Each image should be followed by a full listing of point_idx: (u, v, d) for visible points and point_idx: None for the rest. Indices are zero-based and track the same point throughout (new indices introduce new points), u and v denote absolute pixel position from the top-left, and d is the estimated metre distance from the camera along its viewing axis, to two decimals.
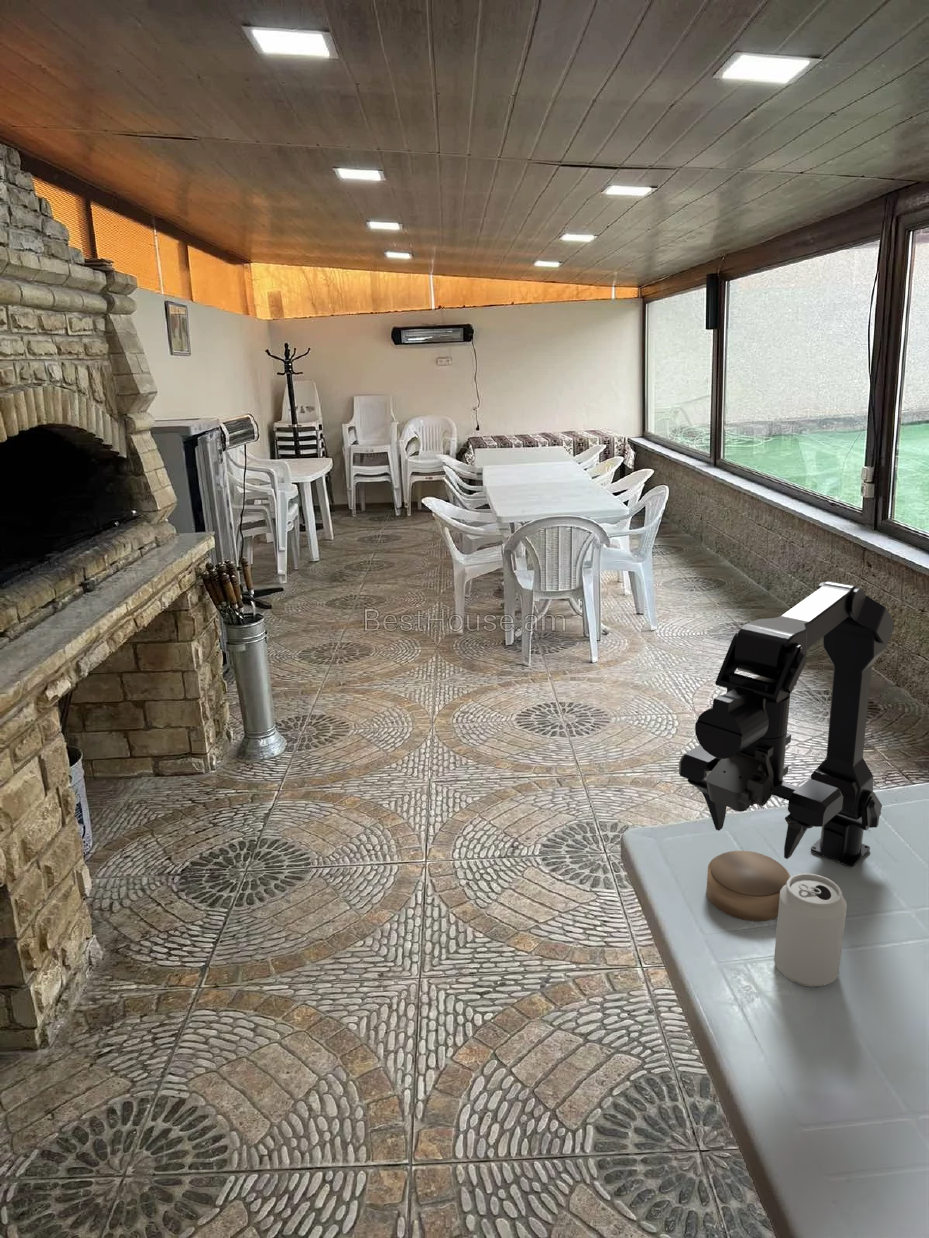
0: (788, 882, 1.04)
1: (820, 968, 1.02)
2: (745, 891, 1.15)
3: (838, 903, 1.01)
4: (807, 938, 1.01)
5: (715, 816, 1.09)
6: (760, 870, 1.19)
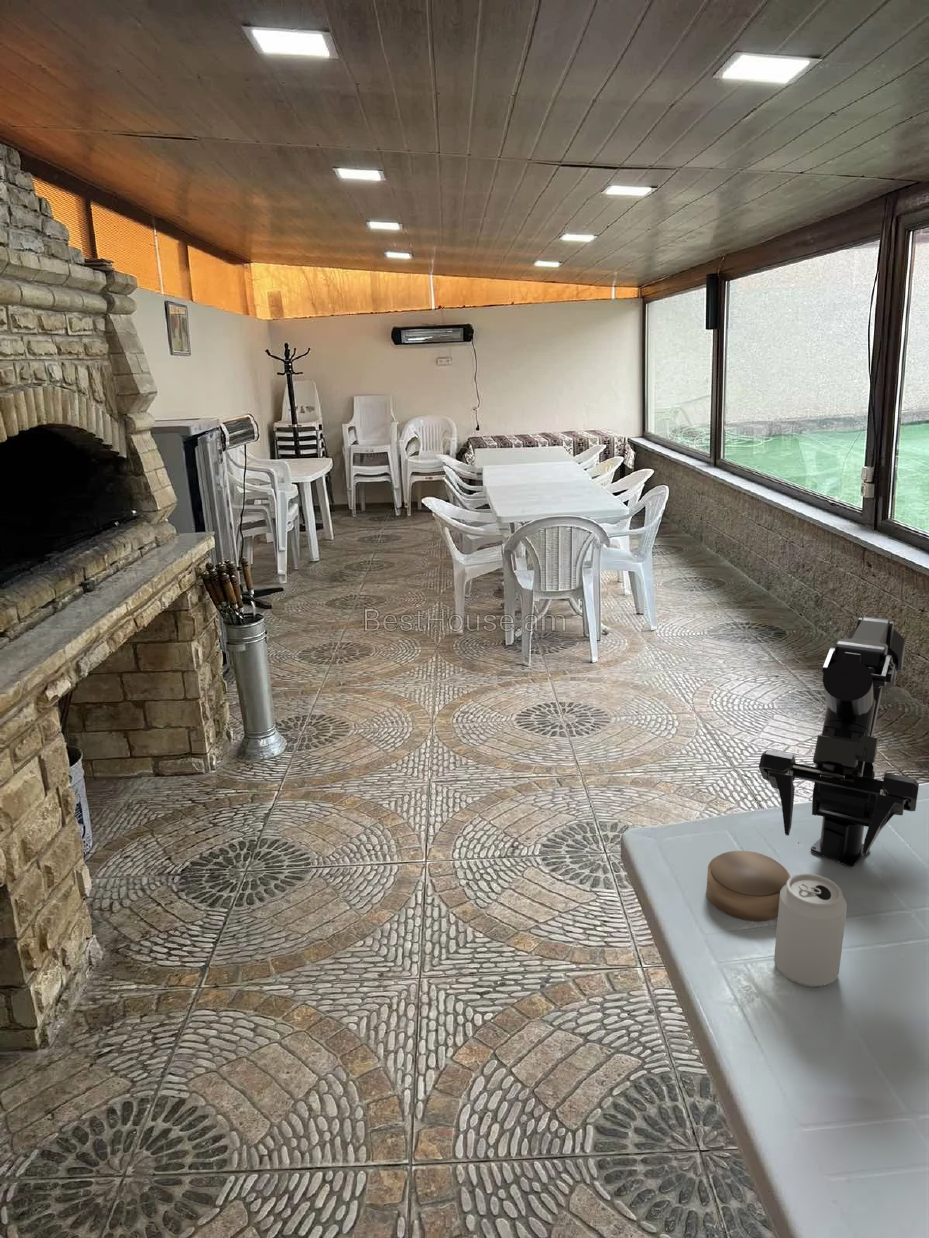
0: (788, 882, 1.04)
1: (821, 969, 1.02)
2: (745, 891, 1.15)
3: (838, 903, 1.01)
4: (807, 938, 1.01)
5: (788, 815, 1.11)
6: (760, 870, 1.19)
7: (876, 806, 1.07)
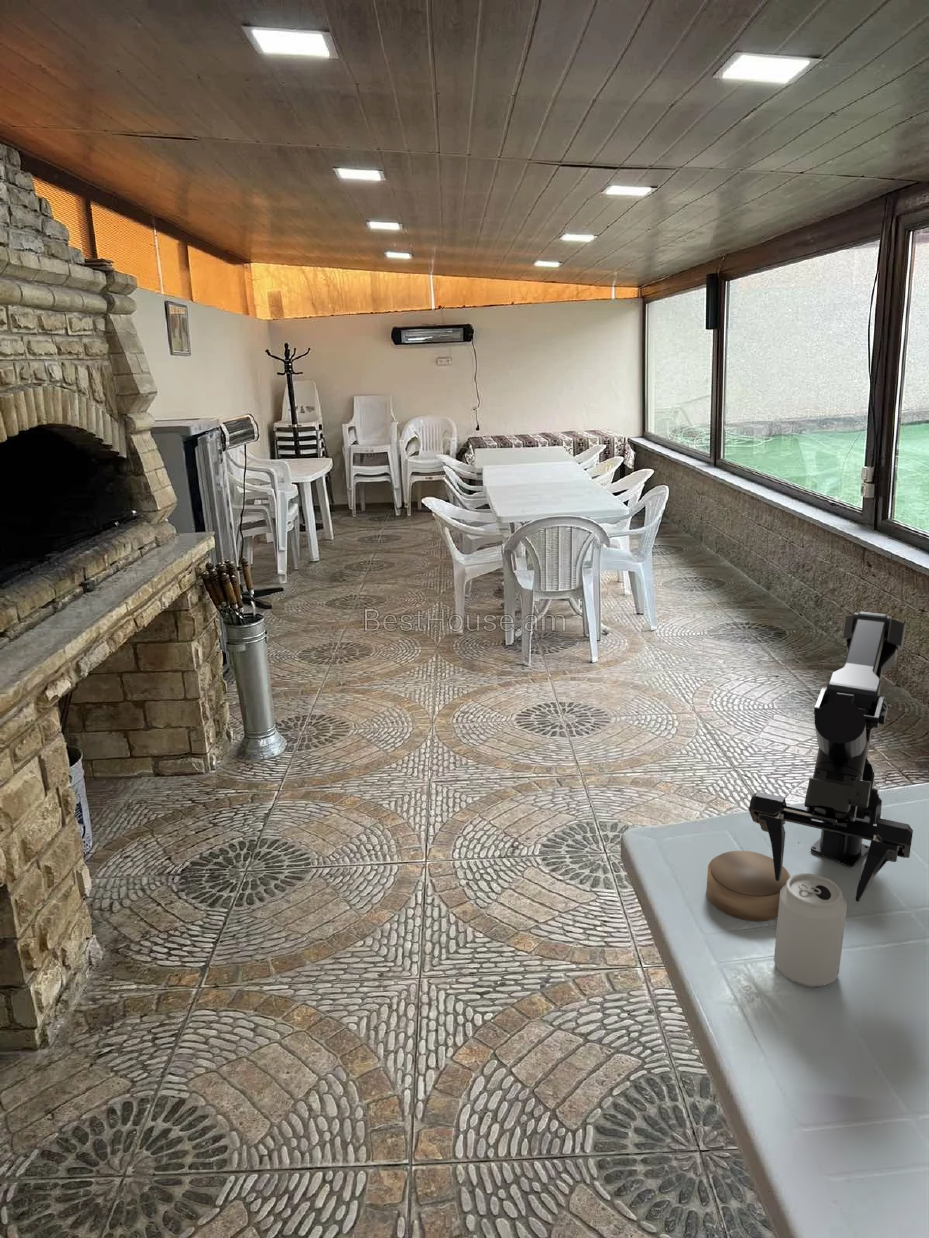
0: (788, 882, 1.04)
1: (820, 969, 1.02)
2: (745, 891, 1.15)
3: (838, 903, 1.01)
4: (807, 938, 1.01)
5: (779, 860, 1.08)
6: (760, 870, 1.19)
7: (869, 852, 1.03)
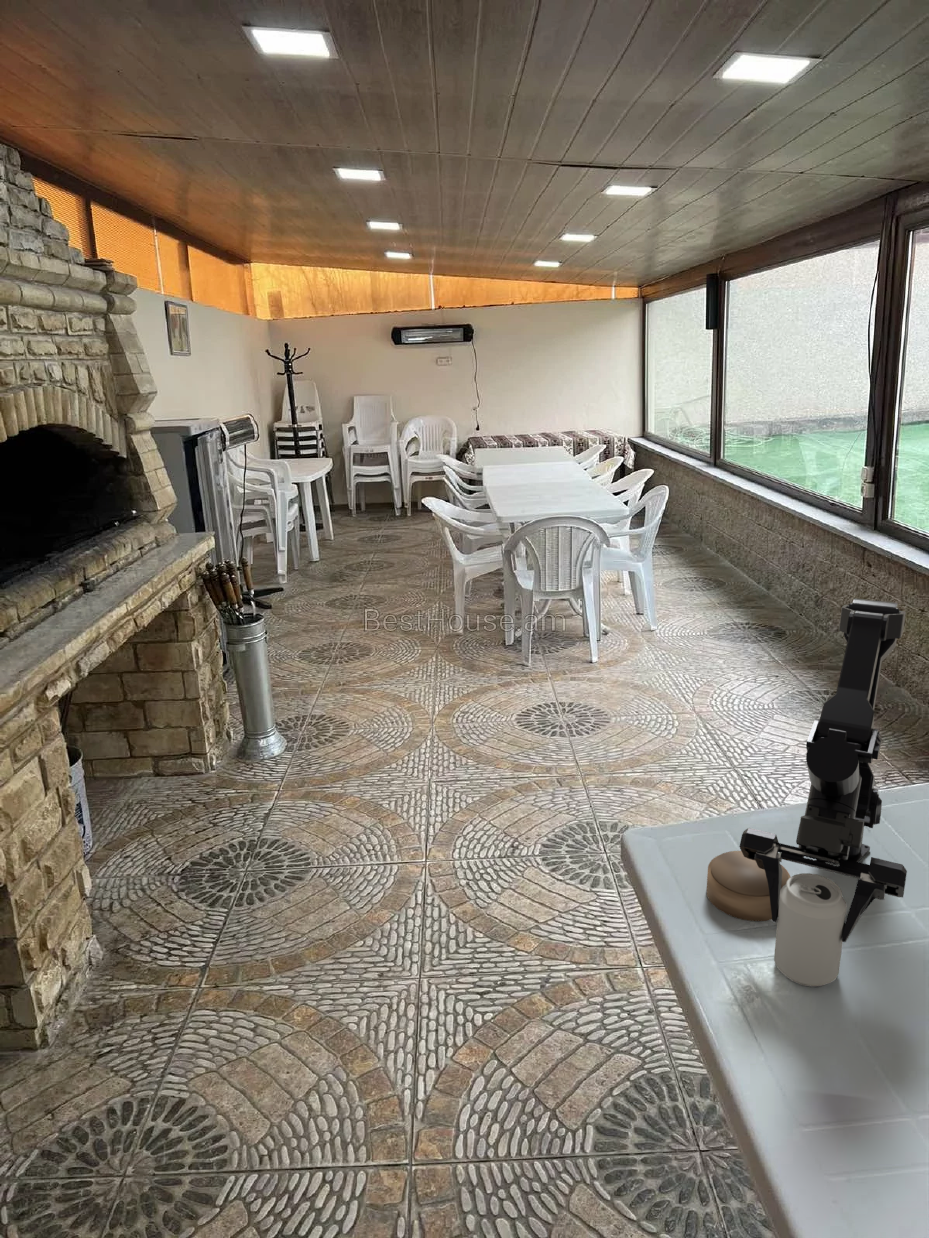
0: (788, 882, 1.04)
1: (820, 968, 1.02)
2: (745, 891, 1.15)
3: (838, 903, 1.01)
4: (807, 938, 1.01)
5: (776, 901, 1.05)
6: (760, 870, 1.19)
7: (856, 891, 1.01)
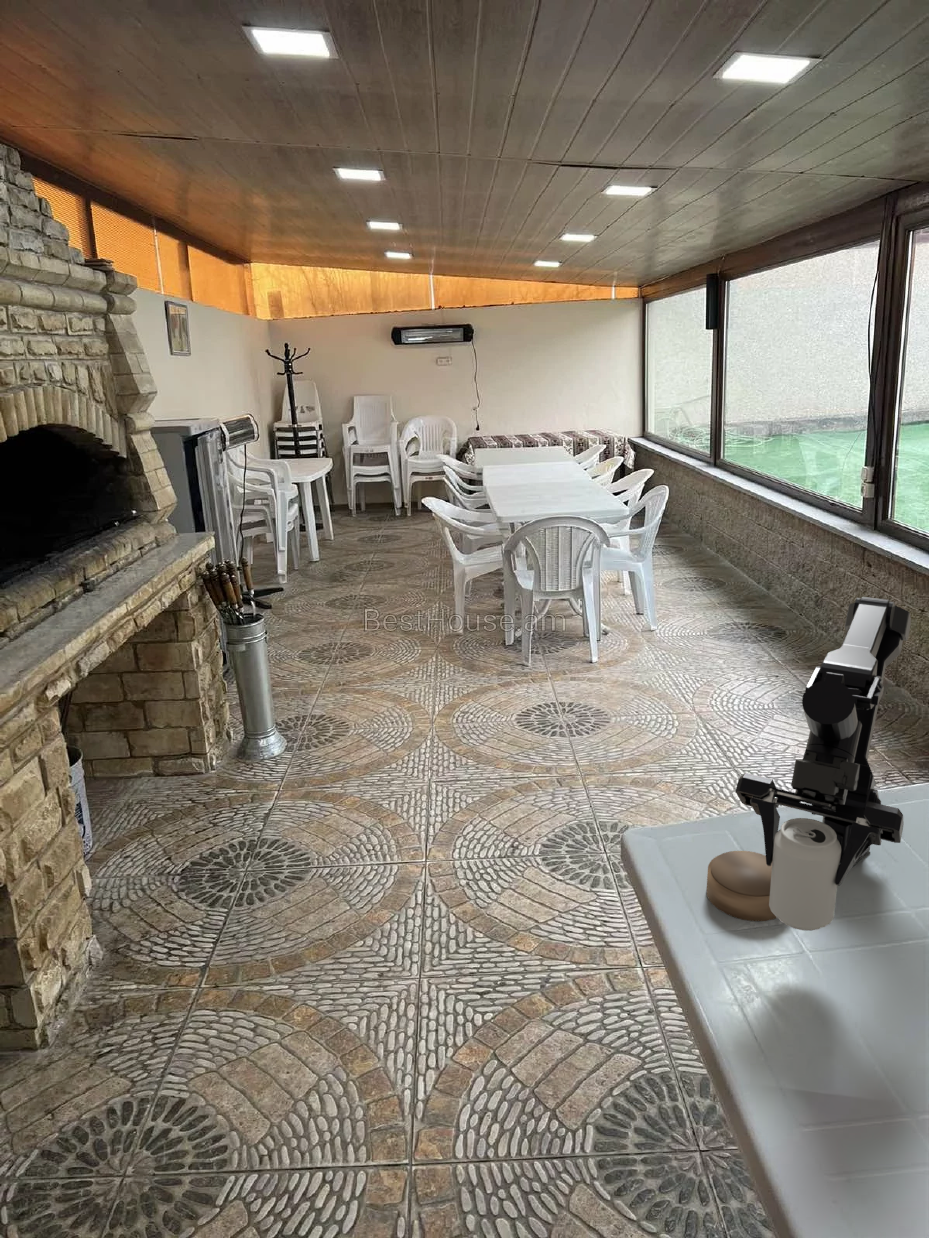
0: (783, 826, 1.03)
1: (814, 912, 1.01)
2: (745, 891, 1.15)
3: (832, 846, 1.00)
4: (800, 880, 1.00)
5: (770, 845, 1.05)
6: (760, 870, 1.19)
7: (851, 835, 1.01)
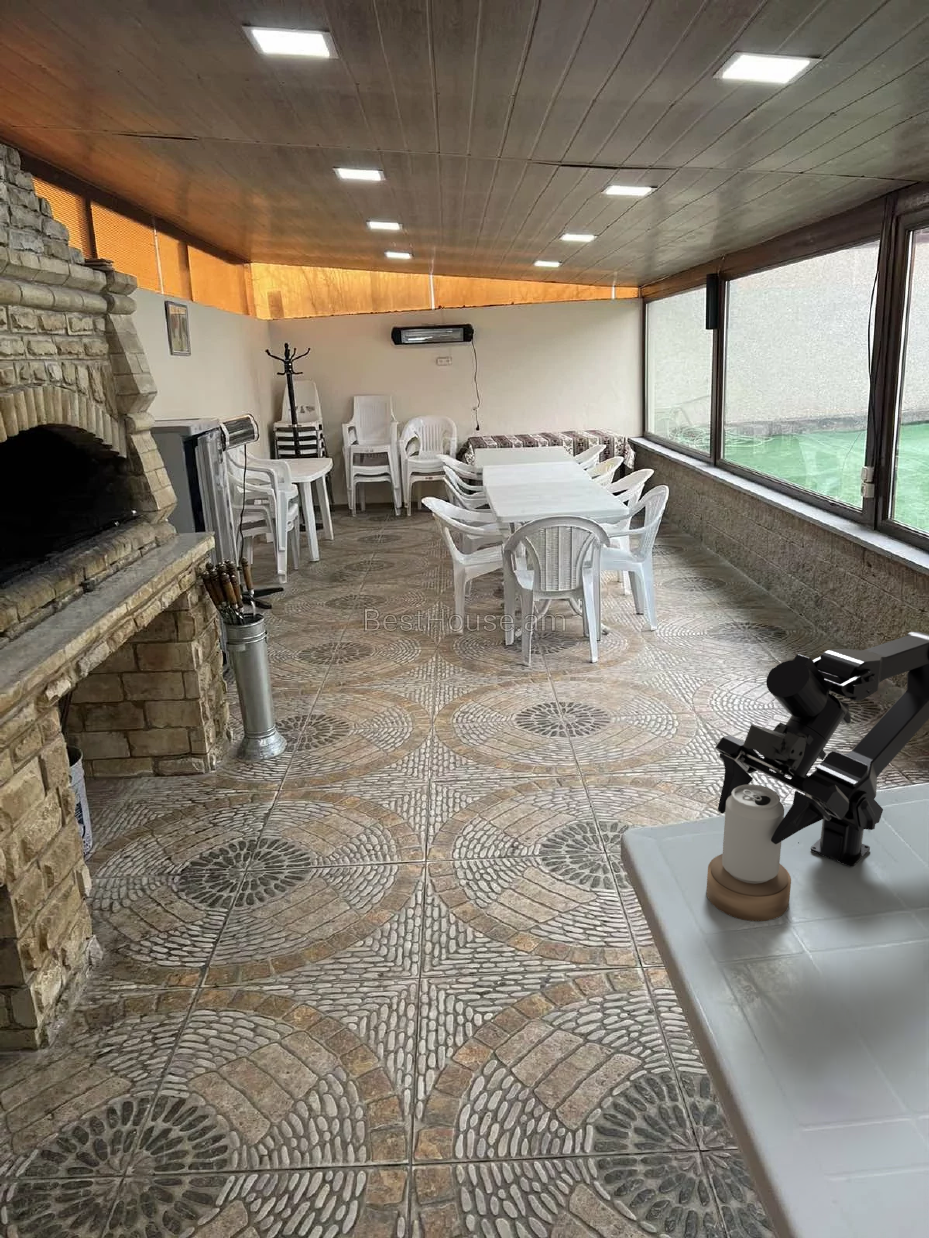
0: (738, 787, 1.18)
1: (746, 864, 1.15)
2: (745, 891, 1.15)
3: (768, 810, 1.13)
4: (735, 833, 1.15)
5: (724, 795, 1.20)
6: None
7: (793, 802, 1.11)
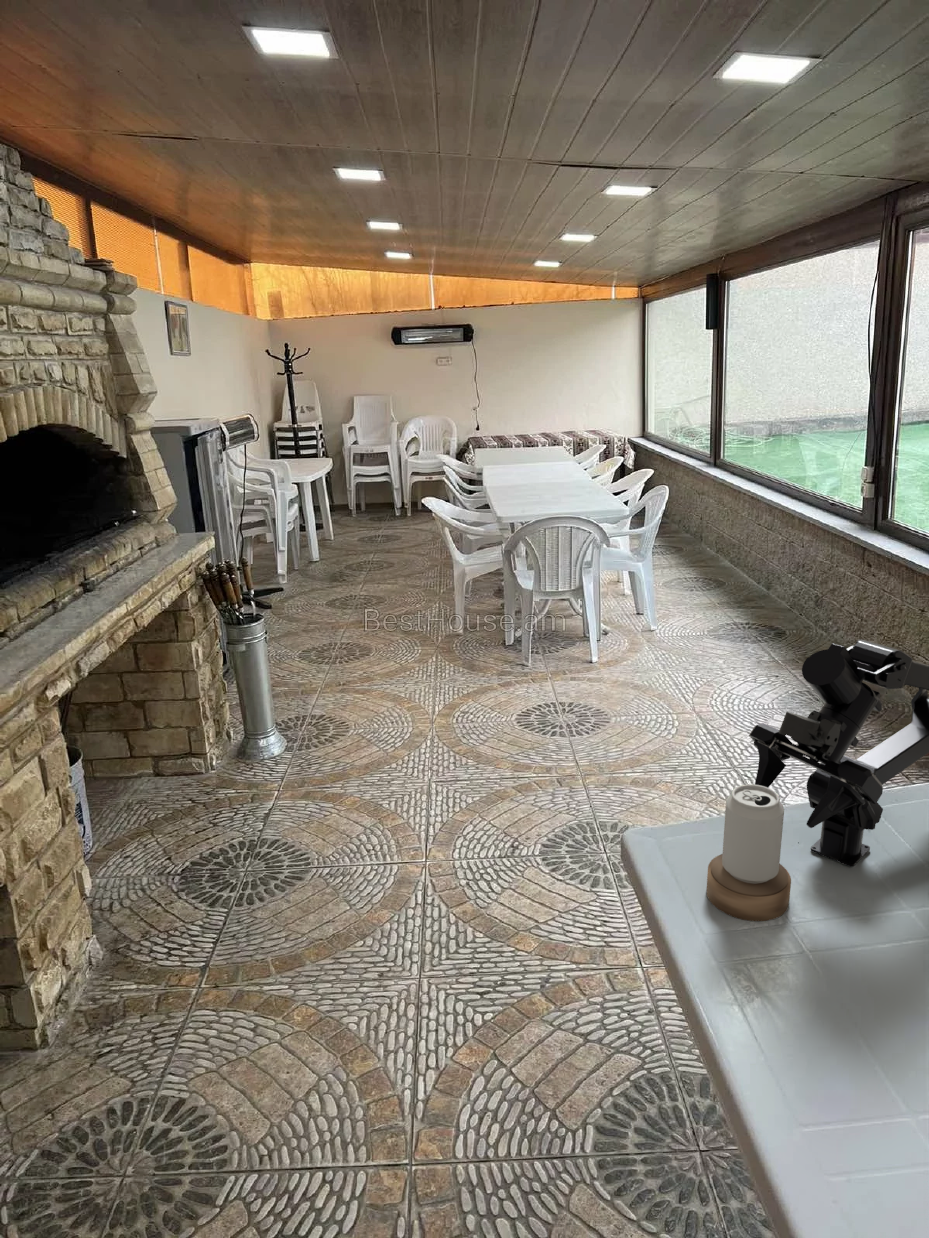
0: (737, 787, 1.18)
1: (746, 864, 1.15)
2: (745, 891, 1.15)
3: (768, 810, 1.13)
4: (735, 833, 1.15)
5: (759, 781, 1.23)
6: None
7: (828, 787, 1.15)
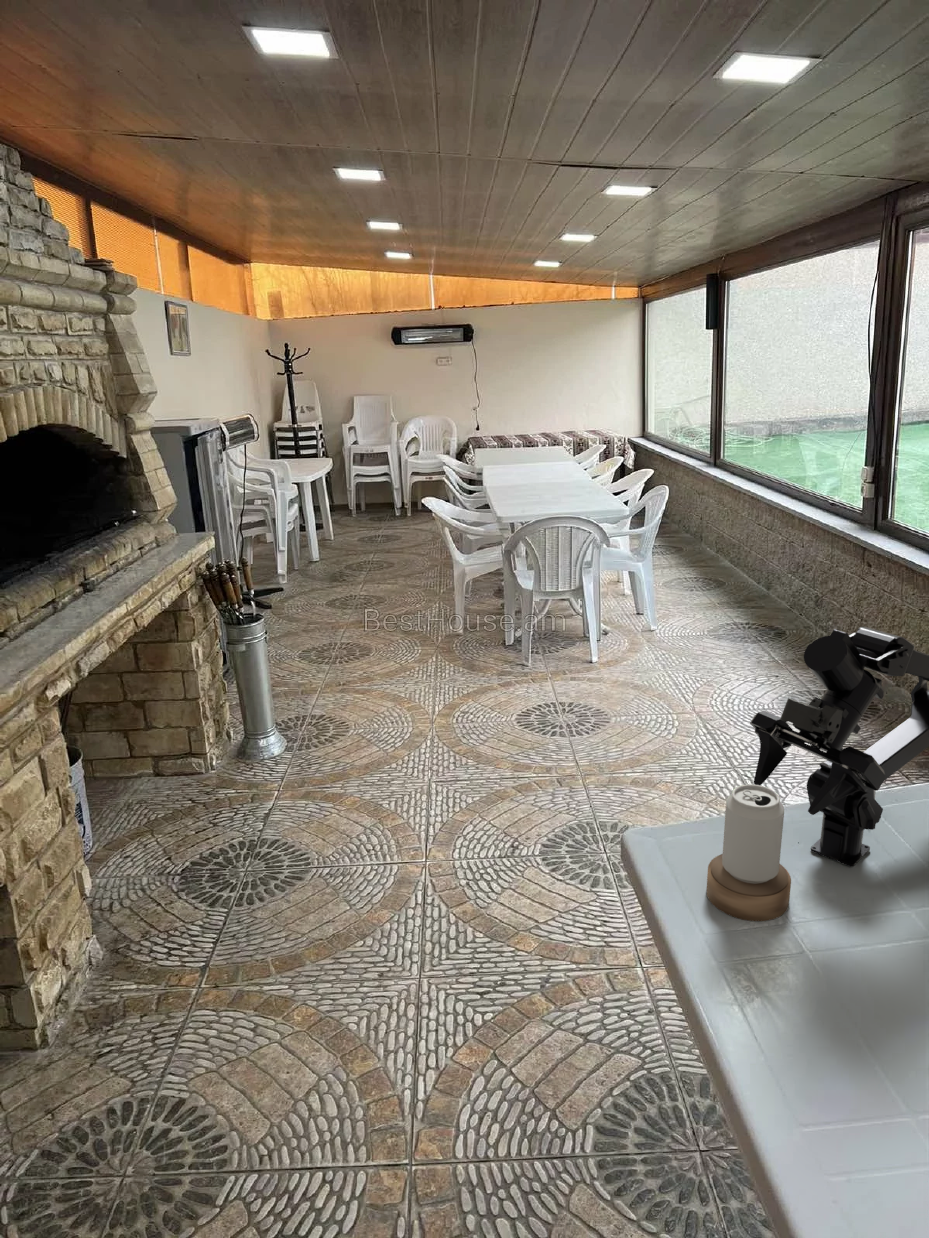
0: (738, 787, 1.18)
1: (746, 864, 1.15)
2: (745, 891, 1.15)
3: (768, 810, 1.13)
4: (735, 833, 1.15)
5: (760, 769, 1.22)
6: None
7: (830, 773, 1.14)
